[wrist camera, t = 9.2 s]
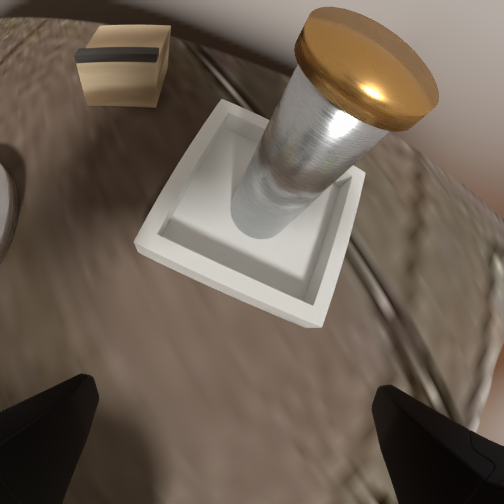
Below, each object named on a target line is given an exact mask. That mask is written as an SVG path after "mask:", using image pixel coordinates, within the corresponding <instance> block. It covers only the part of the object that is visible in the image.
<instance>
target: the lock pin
mask: <svg viewBox="0 0 504 504" xmlns="http://www.w3.org/2000/svg"><path fill="white" fill-rule="evenodd" d="M294 51H295V57H296V60H297V62H298V65H297V67H296V69H295V71H294V73H293V75H292V77H291V79H290V81H289V83H288V85H287V87H286V89H285V91H284V93H283V95H282V96H281V98H280V100H279V102H278V104H277V106H276V108H275V110H274V112H273V114H272V116H271V119H270V121H269V123H268V125H267V127H266V129H265V131H264V133H263V135H262V137H261V139H260V141H259V143H258V145H257V147H256V149H255V151H254V154H253V156H252V158H251V160H250V162H249V164H248V166H247V168H246V170H245V173H244V175H243V177H242V179H241V181H240V183H239V185H238V188H237V190H236V192H235V194H234V196H233V198H232V201H231V205H230V212H231V217H232V220H233V222H234V224H235V225H236V227H237V228H238V229H239V230H240V231H241V232H242V233H244V234H245V235H247V236H249V237H252V238H255V239H269V238H272V237H274V236H276V235H277V234H279V233H280V232H281V231H282V230H283V229H284V228H285V227H286V226H287V225H289V224H290V223H291V222H292V221H293V220H294V219H295V218H296V217H297V216H298V215H299V214H300V213H302V212H303V211H304V210H305V209H306V208H307V207H308V206H309V205H310V204H311V203H312V202H314V201H315V200H316V199H317V198H318V197H319V196H320V195H321V194H322V193H323V192H324V191H325V190H327V189H328V188H329V187H330V186H331V185H332V184H333V183H334V182H335V181H336V180H337V179H338V178H340V177H341V176H342V175H343V174H344V173H345V172H346V171H347V170H348V169H349V168H350V167H351V166H353V165H354V164H355V163H356V162H357V161H358V160H359V159H360V158H361V157H362V156H363V155H364V154H365V153H367V152H368V151H369V150H370V149H371V148H372V147H373V146H374V145H375V144H376V143H377V142H378V141H379V140H381V139H382V138H383V137H384V136H385V135H386V134H387V133H388V132H389V131H394V132H399V131H405V130H408V129H410V128H412V127H413V126H414V125H415V124H416V123H417V122H419V121H420V120H421V119H422V118H423V117H424V116H425V115H427V114H428V113H429V112H430V111H431V110H432V109H433V108H435V106H436V105H437V103H438V100H439V92H438V88H437V85H436V82H435V80H434V78H433V76H432V74H431V72H430V71H429V69H428V68H427V66H426V65H425V63H424V62H423V61H422V59H421V58H420V57H419V56H418V55H417V54H416V52H415V51H414V50H413V49H412V48H411V47H410V46H409V45H408V44H407V43H405V42H404V41H403V40H402V39H400V37H398V36H397V35H396V34H394V33H393V32H392V31H390V30H389V29H387V28H386V27H384V26H383V25H381V24H379V23H377V22H376V21H374V20H372V19H370V18H368V17H366V16H363V15H361V14H359V13H356V12H353V11H350V10H346V9H342V8H336V7H322V8H318V9H315V10H314V11H312V12H311V14H310V15H309V17H308V19H307V21H306V23H305V25H304V27H303V29H302V31H301V33H300V35H299V37H298V39H297V41H296V44H295V49H294Z"/></svg>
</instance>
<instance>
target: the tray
mask: <svg viewBox="0 0 504 504" xmlns="http://www.w3.org/2000/svg"><path fill="white" fill-rule="evenodd" d="M269 121H270V120H268V119H266V118H264V117H262V116H260V115H257V114H255V113H253V112H251V111H249V110H247V109H244V108H242V107H240V106H238V105H235V104H233V103H231V102H228V101H226V100H224V99H221V100H220V102H219V103H218V104H217V106H216V107H215V109H214V110H213V112H212V113H211V114H210V116H209V117H208V119H207V120H206V122H205V123H204V125H203V126H202V128H201V129H200V131H199V132H198V134H197V135H196V137H195V138H194V140H193V141H192V143H191V144H190V146H189V147H188V149H187V150H186V152H185V154H184V155H183V157H182V158H181V160H180V162H179V163H178V165H177V166H176V168H175V170H174V171H173V173H172V175H171V176H170V178H169V180H168V181H167V183H166V185H165V186H164V188H163V190H162V191H161V193H160V195H159V197H158V198H157V200H156V202H155V204H154V205H153V207H152V209H151V211H150V213H149V214H148V216H147V218H146V220H145V222H144V223H143V225H142V227H141V229H140V231H139V233H138V235H137V237H136V239H135V240H134V244H135V246H136V248H137V251H138V253H140V254H142V255H144V256H146V257H148V258H150V259H152V260H154V261H156V262H158V263H160V264H163V265H165V266H167V267H169V268H171V269H173V270H175V271H177V272H179V273H181V274H184V275H186V276H188V277H190V278H192V279H194V280H196V281H199V282H201V283H203V284H205V285H207V286H209V287H212V288H214V289H216V290H218V291H221V292H223V293H225V294H227V295H229V296H232V297H234V298H236V299H238V300H241V301H243V302H245V303H248V304H250V305H252V306H254V307H257V308H259V309H261V310H264V311H266V312H268V313H271V314H273V315H275V316H278V317H280V318H283V319H285V320H287V321H290V322H292V323H295V324H297V325H299V326H302V327H304V328H317V327H322V326H323V323H324V320H325V317H326V314H327V311H328V308H329V305H330V302H331V299H332V296H333V292H334V289H335V286H336V283H337V280H338V276H339V273H340V270H341V266H342V263H343V259H344V256H345V252H346V249H347V245H348V242H349V238H350V234H351V230H352V227H353V223H354V219H355V215H356V211H357V207H358V203H359V199H360V195H361V190H362V186H363V182H364V177H365V172H363V171H362V170H360V169H358V168H357V167H355V166H351V167H350V168H349V169H348V170H347V171H346V172H345V173H344V174H343V175H342V176H341V177H340V178H338V179H337V180H336V181H335V182H334V183H333V184H332V185H331V186H330V187H329V188H328V189H327V190H325V191H324V192H323V193H322V194H321V195H320V196H319V197H318V198H317V199H316V200H315V201H314V202H312V203H311V204H310V205H309V206H308V207H307V208H306V209H305V210H304V211H303V212H302V213H300V214H299V215H298V216H297V217H296V218H295V219H294V220H293V221H292V222H291V223H290V224H289V225H287V226H286V227H285V228H284V229H283V230H282V231H281V232H280V233H279V234H277V235H276V236H274V237H272V238H269V239H255V238H252V237H249V236H247V235H245V234H244V233H242V232H241V231H240V230H239V229H238V228H237V227H236V225H235V224H234V222H233V220H232V217H231V212H230V205H231V201H232V198H233V196H234V194H235V192H236V190H237V188H238V185H239V183H240V181H241V179H242V177H243V175H244V173H245V170H246V168H247V166H248V164H249V162H250V160H251V158H252V156H253V154H254V151H255V149H256V147H257V145H258V143H259V141H260V139H261V137H262V135H263V133H264V131H265V129H266V127H267V125H268V123H269Z"/></svg>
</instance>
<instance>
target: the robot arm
mask: <svg viewBox="0 0 504 504" xmlns="http://www.w3.org/2000/svg"><path fill="white" fill-rule="evenodd" d="M98 401H99V394H98V391H97V388H96V384H95V381H94V378H93V377H92V376H91V375H87V374H82V373H81V374H78V375H76V376H74V377H72V378H70V379H68V380H66V381H64V382H62V383H60V384H58V385H56V386H54V387H52V388H50V389H48V390H46V391H44V392H41V393H39V394H37V395H35V396H33V397H31V398H29V399H27V400H25V401H22V402H20V403H18V404H16V405H14V406H12V407H9V408H7V409H5V410H3V411H2V412H0V504H62V503H63V500H64V497H65V494H66V491H67V489H68V486H69V483H70V481H71V478H72V475H73V473H74V470H75V468H76V465H77V463H78V460H79V458H80V455H81V453H82V450H83V448H84V445H85V443H86V440H87V438H88V435H89V432H90V428H91V425H92V421H93V418H94V414H95V411H96V408H97V405H98ZM372 414H373V418H374V422H375V427H376V431H377V436H378V440H379V444H380V449H381V452H382V455H383V458H384V460H385V463H386V466H387V469H388V472H389V475H390V478H391V481H392V484H393V487H394V490H395V493H396V496H397V499H398V503H399V504H504V446H502V445H499V444H497V443H495V442H492V441H490V440H488V439H486V438H484V437H482V436H480V435H478V434H477V433H475V432H473V431H471V430H470V431H469V429H467V428H466V427H464V426H462V425H460V424H458V423H457V422H455V421H453V420H451V419H449V418H448V417H446V416H444V415H442V414H441V413H439V412H437V411H435V410H434V409H432V408H430V407H428V406H427V405H425V404H423V403H422V402H420V401H418V400H416V399H415V398H413V397H411V396H410V395H408V394H406V393H405V392H403V391H401V390H399V389H398V388H396V387H394V386H393V385H382V386H379V387H378V389H377V392H376V395H375V398H374V401H373V404H372Z"/></svg>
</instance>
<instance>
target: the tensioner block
mask: <svg viewBox="0 0 504 504" xmlns="http://www.w3.org/2000/svg"><path fill="white" fill-rule="evenodd" d="M170 31H171V26H163V25H109V26H100V27H99V28H98V29H97V31H96V32H95V34H94V35H93V37H92V39H91V40H90V42H89V43H88V45H87V46H86V48H82V49H78V51H77V52H76V54H75V60H76V64H77V68H78V72H79V76H80V80H81V84H82V88H83V92H84V95H85V99H86V103H87V106H128V107H149V108H156V107H157V103H158V99H159V96H160V92H161V89H162V85H163V82H164V79H165V76H166V72H167V69H168V56H169V42H170Z"/></svg>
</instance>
